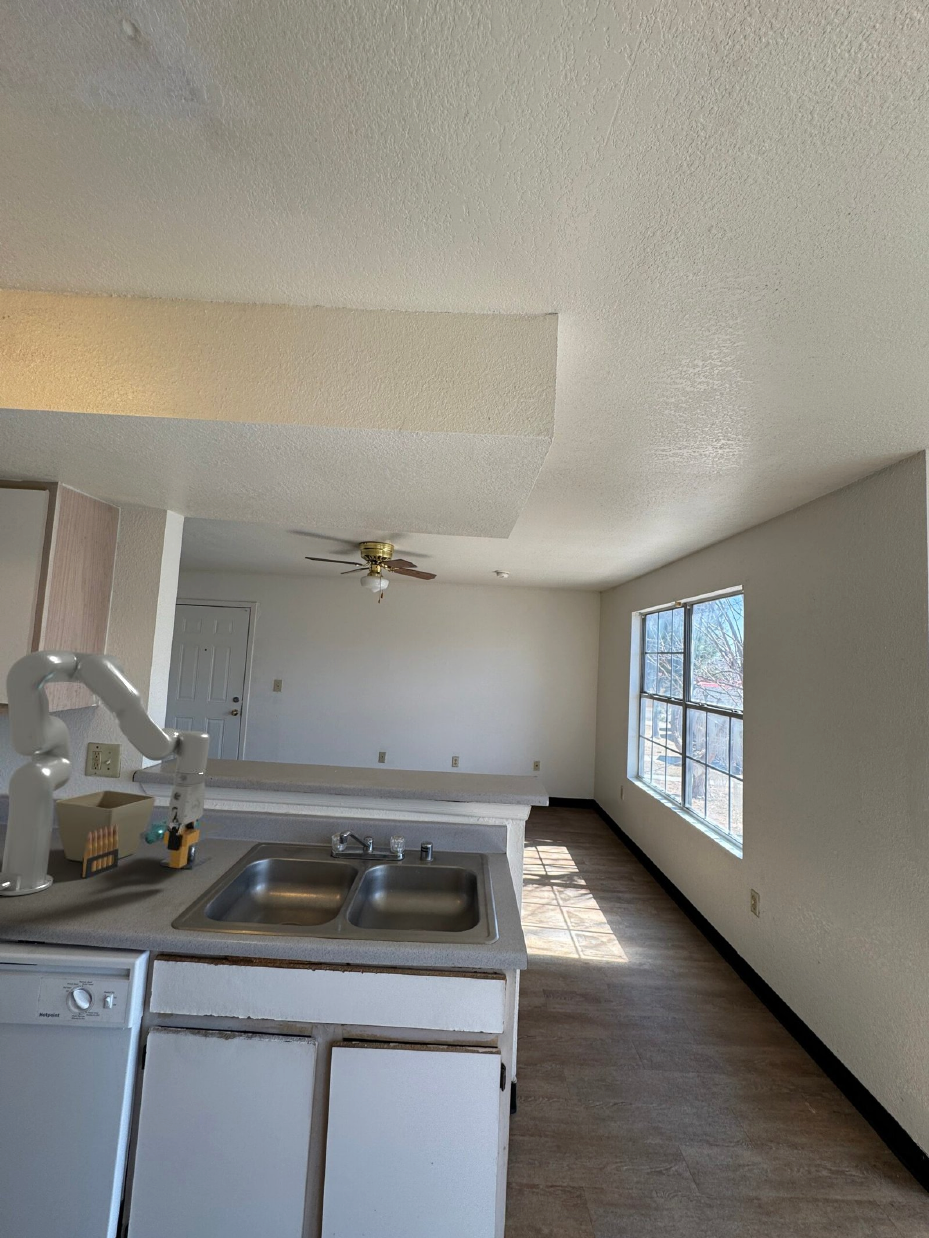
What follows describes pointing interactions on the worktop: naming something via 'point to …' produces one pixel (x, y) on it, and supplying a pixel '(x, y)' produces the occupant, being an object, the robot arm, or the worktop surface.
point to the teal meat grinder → (193, 858)
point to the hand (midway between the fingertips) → (180, 845)
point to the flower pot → (103, 819)
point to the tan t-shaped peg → (182, 846)
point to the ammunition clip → (100, 852)
